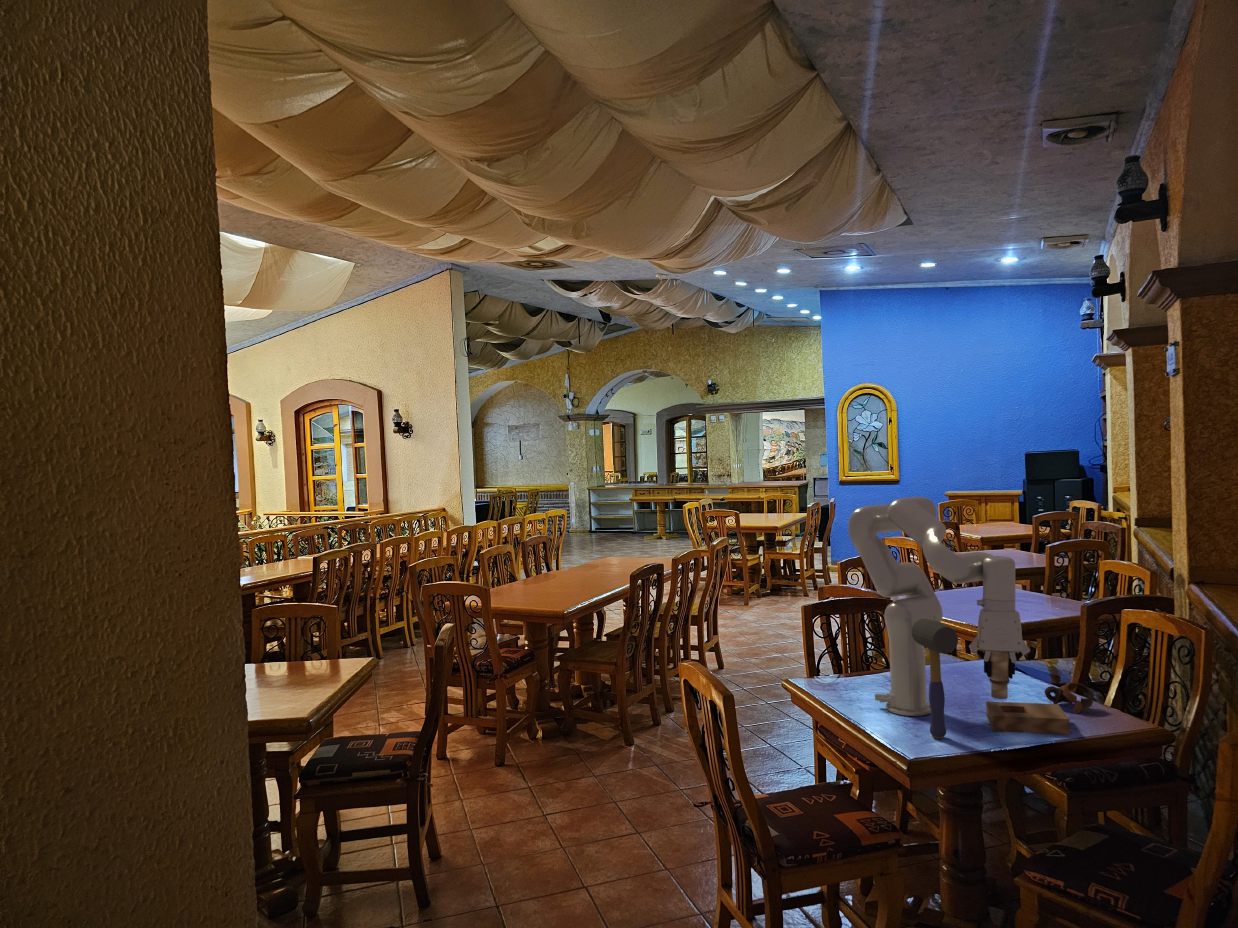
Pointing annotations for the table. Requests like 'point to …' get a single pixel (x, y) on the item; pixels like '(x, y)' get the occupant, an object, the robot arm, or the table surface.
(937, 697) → the rubber mallet
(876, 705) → the table surface
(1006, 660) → the peg
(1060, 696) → the dark looped piece
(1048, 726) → the board
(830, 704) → the table surface
